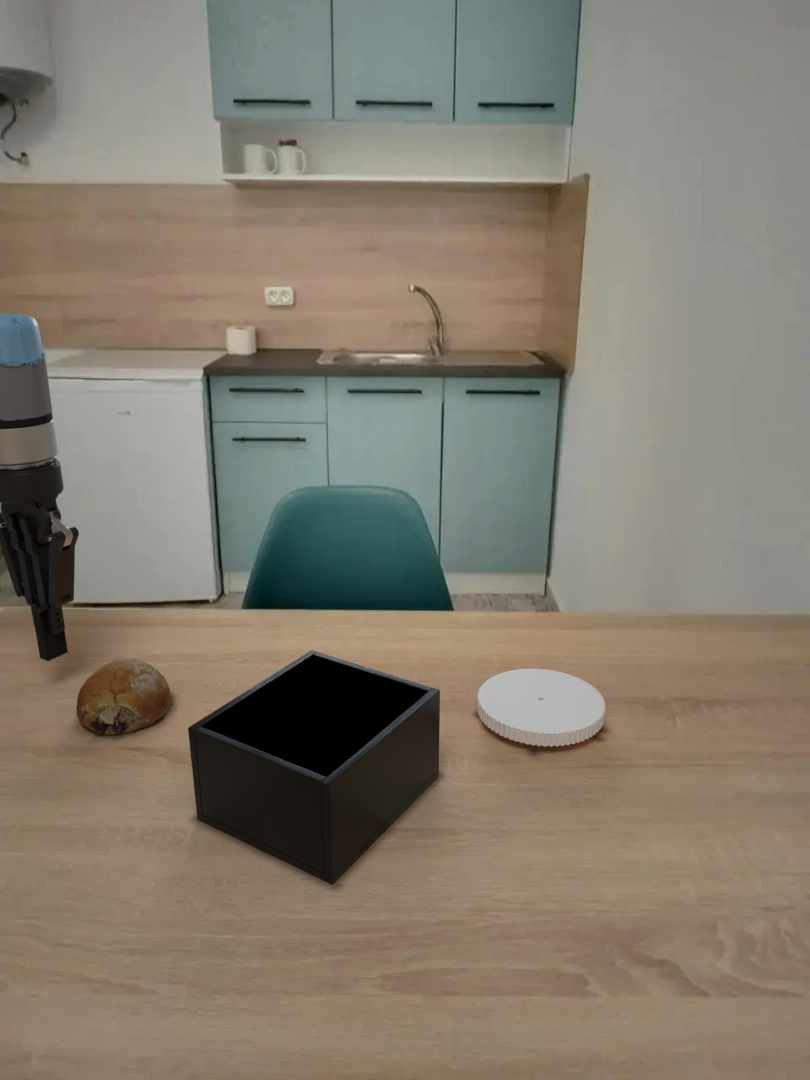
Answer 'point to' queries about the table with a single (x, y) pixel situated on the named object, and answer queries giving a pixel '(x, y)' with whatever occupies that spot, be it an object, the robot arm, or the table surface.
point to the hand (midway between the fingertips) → (54, 654)
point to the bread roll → (123, 697)
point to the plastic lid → (541, 707)
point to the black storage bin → (316, 761)
